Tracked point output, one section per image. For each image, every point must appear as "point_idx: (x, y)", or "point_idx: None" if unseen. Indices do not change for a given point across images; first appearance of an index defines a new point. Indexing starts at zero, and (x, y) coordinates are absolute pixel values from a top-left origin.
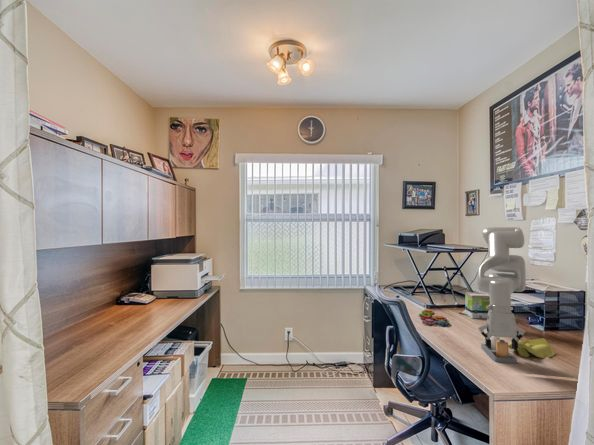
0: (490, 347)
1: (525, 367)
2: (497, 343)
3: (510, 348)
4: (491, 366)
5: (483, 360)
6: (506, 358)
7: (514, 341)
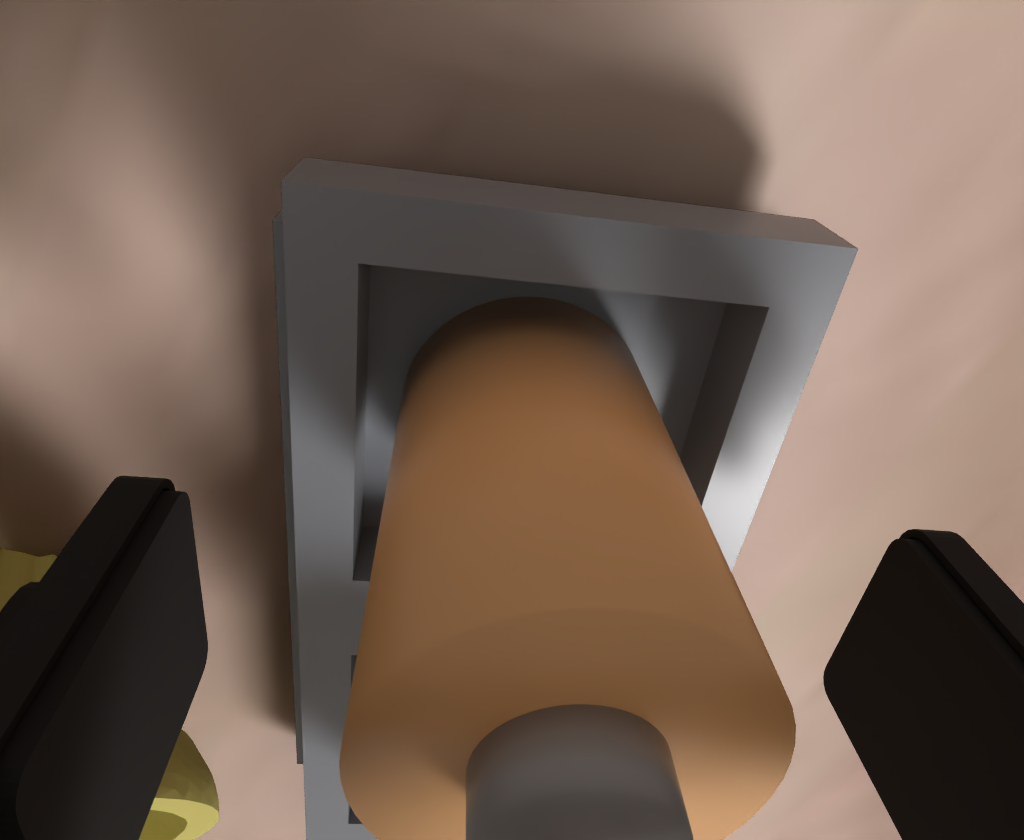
0: (950, 555)
1: (132, 82)
2: (777, 690)
3: (188, 737)
4: (981, 53)
5: (906, 364)
6: (543, 256)
7: (14, 814)
